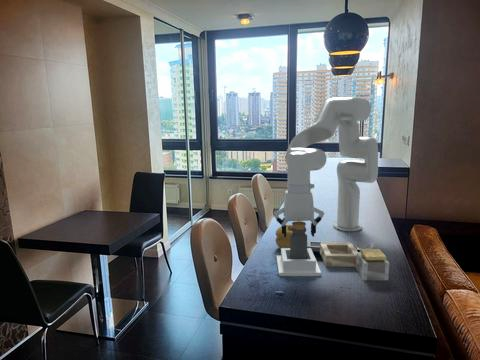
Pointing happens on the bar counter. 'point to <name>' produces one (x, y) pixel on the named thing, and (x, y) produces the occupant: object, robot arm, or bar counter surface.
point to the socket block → (353, 261)
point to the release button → (373, 255)
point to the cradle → (297, 264)
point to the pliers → (366, 247)
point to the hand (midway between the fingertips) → (298, 235)
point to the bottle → (298, 241)
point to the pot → (280, 239)
